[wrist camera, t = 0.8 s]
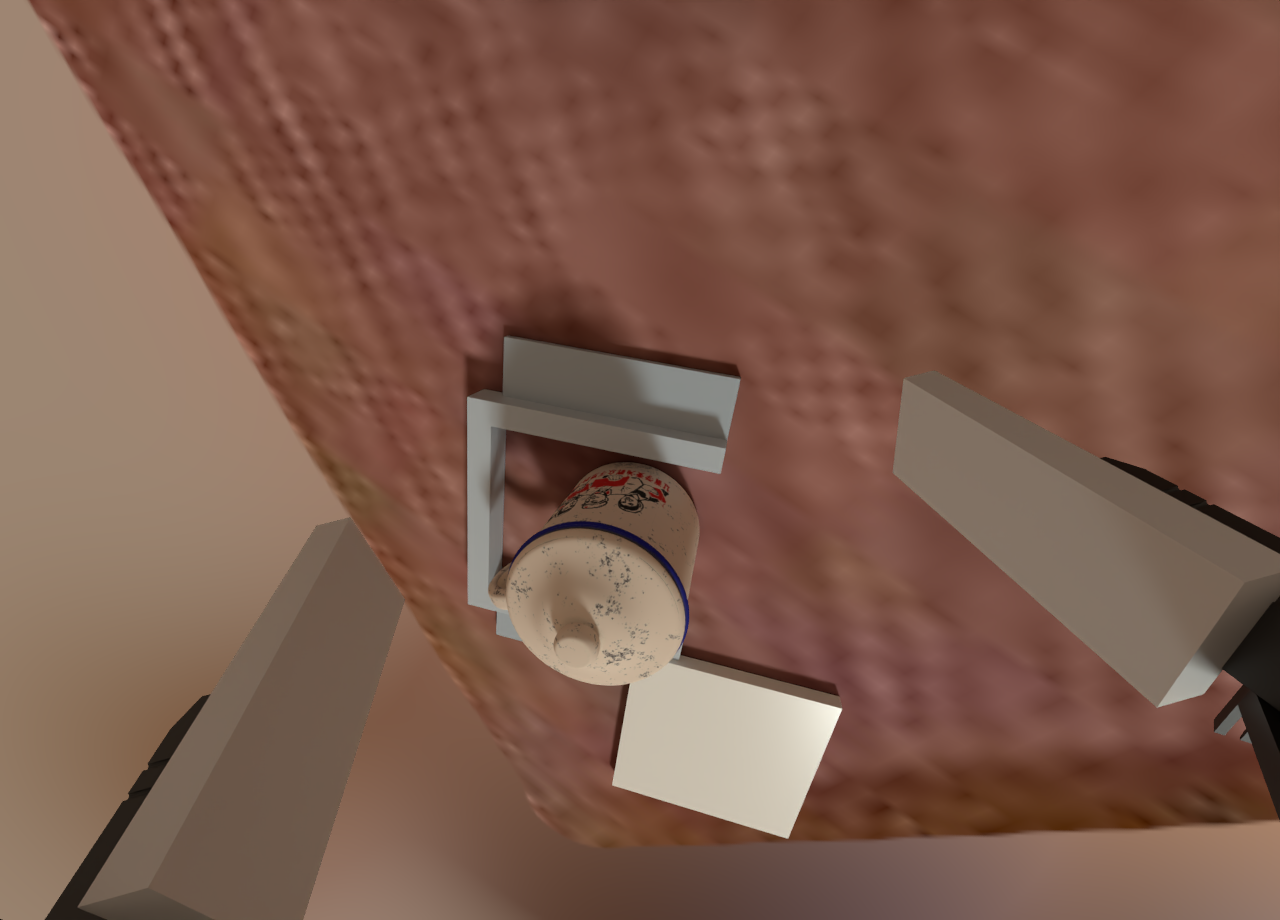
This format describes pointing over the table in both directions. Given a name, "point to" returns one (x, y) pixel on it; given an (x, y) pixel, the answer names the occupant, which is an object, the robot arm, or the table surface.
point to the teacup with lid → (606, 577)
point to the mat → (724, 742)
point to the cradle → (584, 429)
